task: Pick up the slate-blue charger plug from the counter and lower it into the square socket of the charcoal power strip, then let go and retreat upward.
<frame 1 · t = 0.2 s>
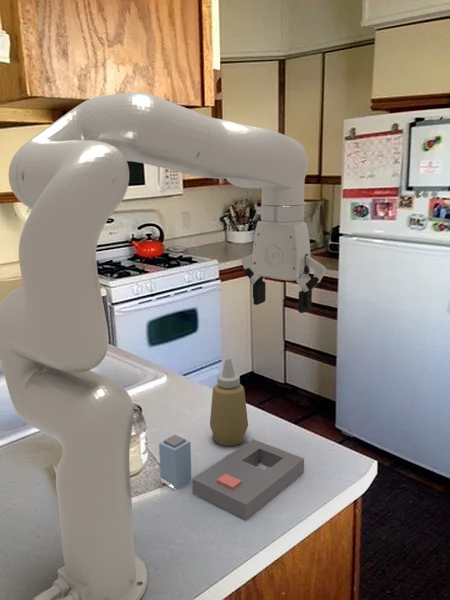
hand: (281, 307, 103), 31 cm above the worktop, fingers open, 9 cm apart
power strip: (249, 482, 101), on the worktop
charger plug: (176, 481, 102), on the worktop
squeeze bottle: (229, 440, 117), on the worktop
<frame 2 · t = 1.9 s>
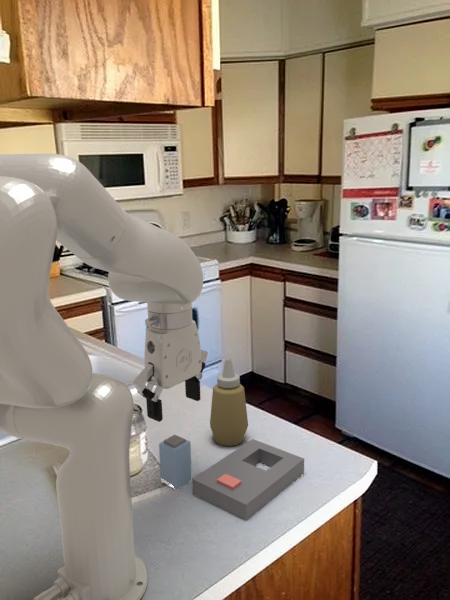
hand: (174, 408, 99), 14 cm above the worktop, fingers open, 9 cm apart
nothing on the worktop moved.
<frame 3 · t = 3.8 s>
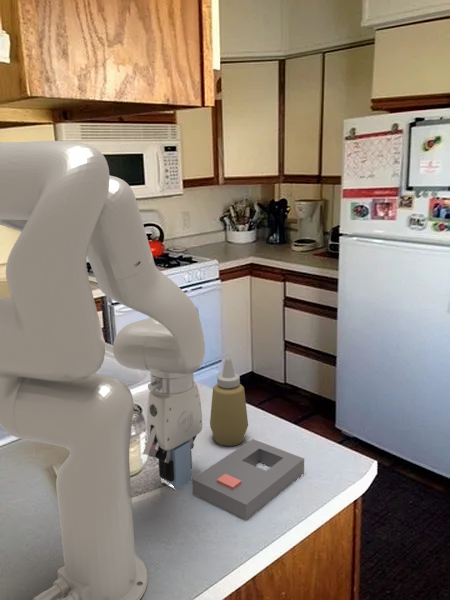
hand: (175, 472, 102), 2 cm above the worktop, fingers closed on charger plug, 4 cm apart
charger plug: (176, 481, 102), on the worktop, touching gripper
everything else where it was.
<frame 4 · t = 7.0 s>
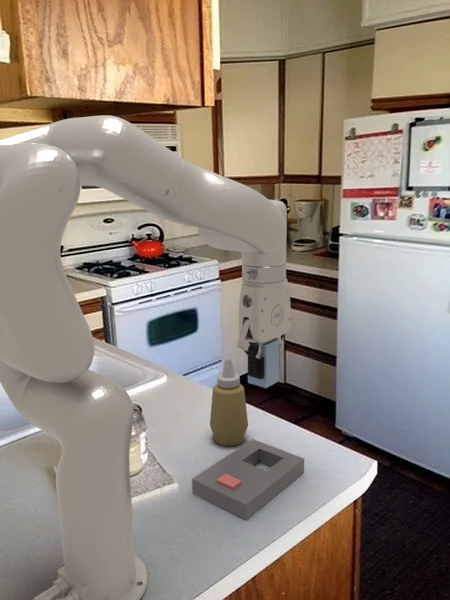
hand: (263, 372, 99), 20 cm above the worktop, fingers closed on charger plug, 4 cm apart
charger plug: (263, 381, 100), point 19 cm above the worktop, touching gripper
everything else where it was.
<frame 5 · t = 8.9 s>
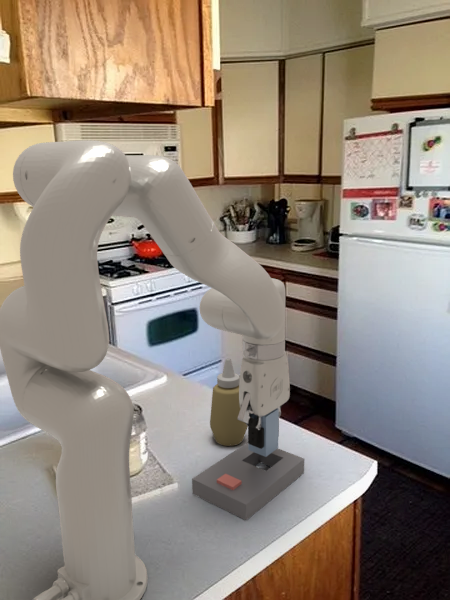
hand: (263, 439, 103), 7 cm above the worktop, fingers closed on charger plug, 4 cm apart
charger plug: (263, 448, 103), point 5 cm above the worktop, touching gripper
everything else where it was.
when the fingers open (4 cm above the worktop, at t = 10.5 s): charger plug drops 2 cm, resting in power strip.
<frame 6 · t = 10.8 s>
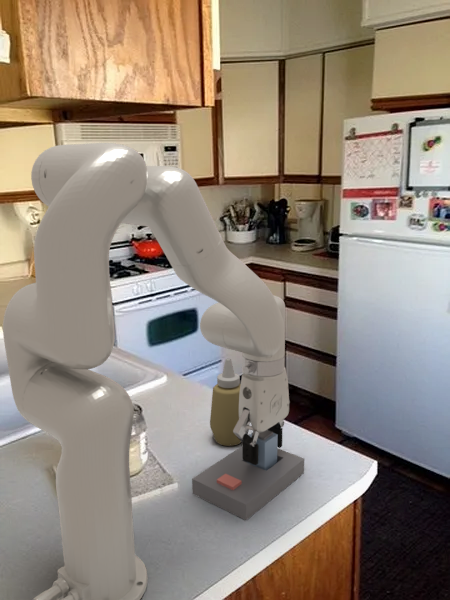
hand: (262, 452, 103), 4 cm above the worktop, fingers open, 7 cm apart
charger plug: (262, 473, 104), resting in power strip
everything else where it was.
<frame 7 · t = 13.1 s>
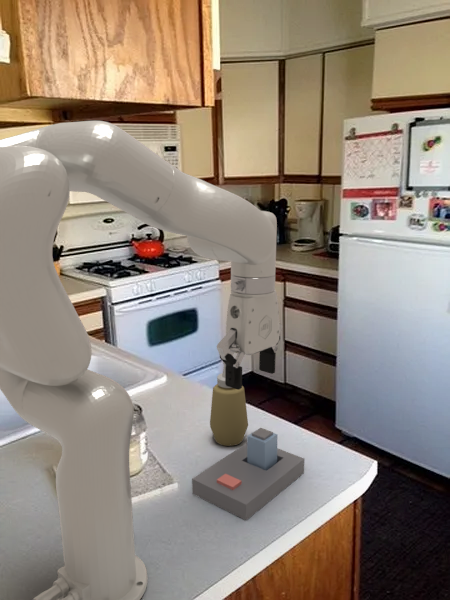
hand: (250, 379, 98), 20 cm above the worktop, fingers open, 9 cm apart
nothing on the worktop moved.
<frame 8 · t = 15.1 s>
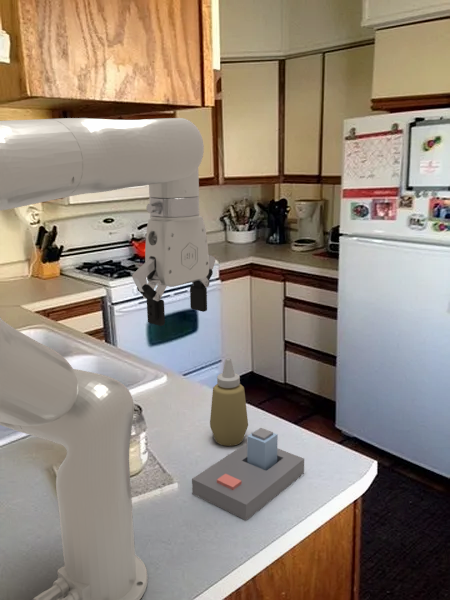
hand: (178, 316, 88), 33 cm above the worktop, fingers open, 9 cm apart
nothing on the worktop moved.
at the end: charger plug 0.1 cm from the target spot on the power strip, point 0.0 cm above the power strip's base; charger plug tilted 0°; the gripper is holding nothing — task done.
